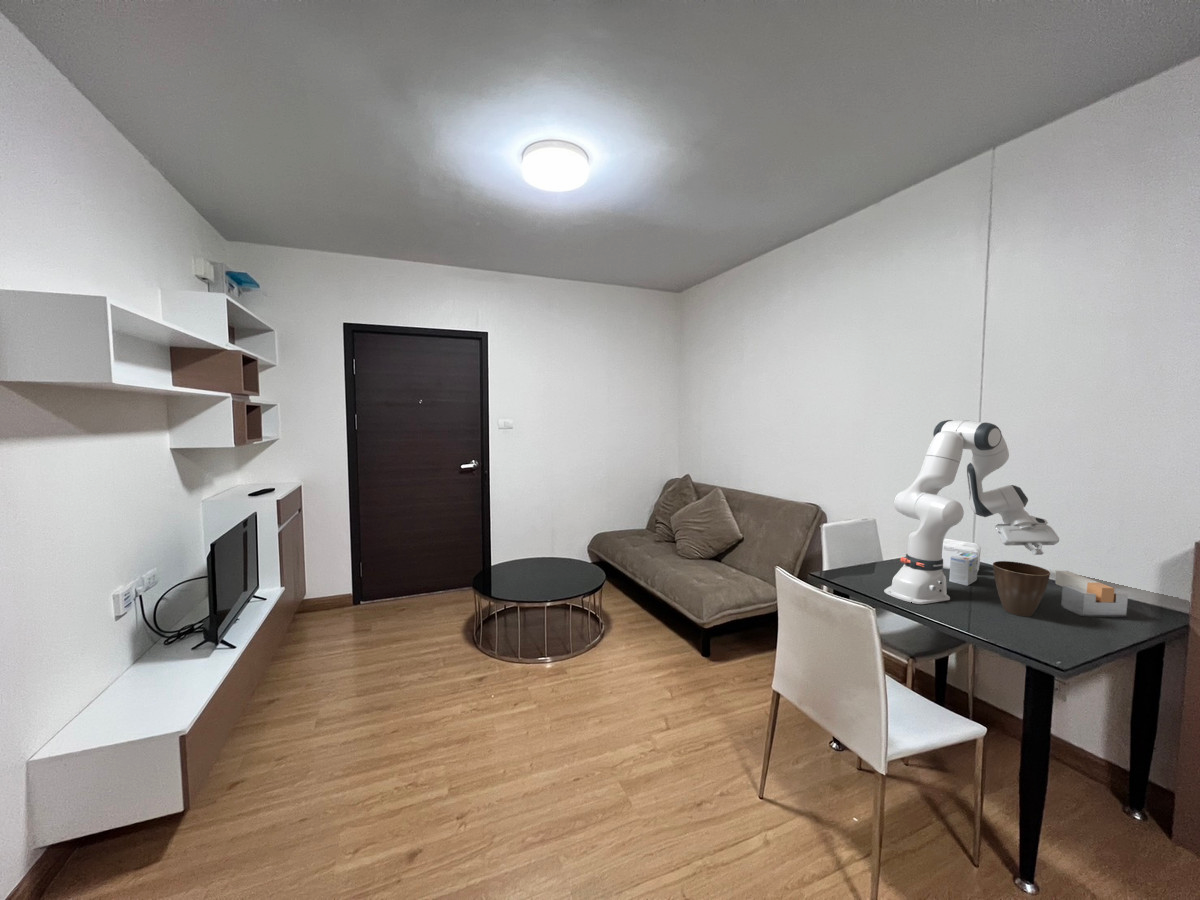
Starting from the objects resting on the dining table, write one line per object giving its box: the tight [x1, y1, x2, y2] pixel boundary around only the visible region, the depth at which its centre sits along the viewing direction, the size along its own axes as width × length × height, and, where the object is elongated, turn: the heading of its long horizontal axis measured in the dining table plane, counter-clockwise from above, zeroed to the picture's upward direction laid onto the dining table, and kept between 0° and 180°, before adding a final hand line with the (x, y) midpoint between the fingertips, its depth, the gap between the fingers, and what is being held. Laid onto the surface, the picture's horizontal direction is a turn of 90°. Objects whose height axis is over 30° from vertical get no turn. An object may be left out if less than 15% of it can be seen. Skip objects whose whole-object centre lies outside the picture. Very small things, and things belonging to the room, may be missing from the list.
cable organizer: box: [942, 538, 982, 573], centre depth 208 cm, size 15×11×12 cm
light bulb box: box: [948, 552, 978, 586], centre depth 194 cm, size 11×7×11 cm, turn 126°
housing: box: [1060, 585, 1129, 618], centre depth 164 cm, size 8×14×8 cm, turn 87°
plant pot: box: [992, 560, 1051, 617], centre depth 164 cm, size 15×15×16 cm
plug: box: [1055, 570, 1116, 602], centre depth 167 cm, size 17×4×5 cm, turn 177°
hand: (1038, 554), depth 186 cm, fingers closed
